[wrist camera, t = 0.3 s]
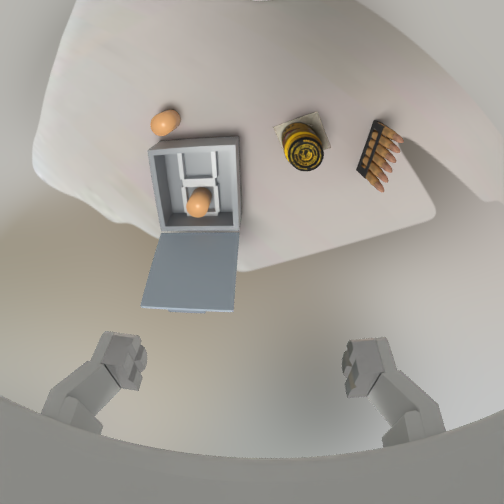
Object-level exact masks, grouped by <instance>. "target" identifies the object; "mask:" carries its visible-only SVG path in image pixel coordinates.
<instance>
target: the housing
mask: <svg viewBox="0 0 504 504" xmlns="http://www.w3.org/2000/svg"><path fill="white" fill-rule="evenodd" d="M148 157H149V164H150V170H151V177H152V183H153V189H154V195H155V200H156V206H157V211H158V217H159V222H160V227H161V231H239V229H240V222H241V215H242V212H241V187H240V160H239V136H238V137H211V138H194V139H180V140H168V141H159V142H158V143H157V144H155V145H154V146H153V147H152V148H150V149H149V150H148ZM198 187H204V188H207V189H208V190H209V191H210V192H211V194H212V200H211V203H210V205H209V208H208V211H207V213H206V214H205V215H204V216H203V217H200V218H196V217H193V216H191V215H190V214H189V213H188V212H187V209H186V204H187V202H188V200H189V198H190V196H191V195H192V193H193V191H194V190H195V189H196V188H198Z"/></svg>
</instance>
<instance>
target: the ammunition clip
mask: <svg viewBox="0 0 504 504" xmlns="http://www.w3.org/2000/svg"><path fill="white" fill-rule="evenodd" d="M382 134H383V135H382ZM385 136H386V137H385ZM390 139H391V140H394V141H396V142H399V143H403V142H404V140H403V138H402V137H401V136H400V135H398V134H397V133H396V132H395V131H393V130H392V129H390V128H389V127H387V126H386V125H384V124H383V123H381V122H378V121H376V120H374V121H373V124H372V127H371V130H370V133H369V136H368V139H367V141H366V144H365V147H364V150H363V153H362V155H361V158H360V161H359V164H358V166H357V169H356V170H357V171H358V172H359V173H360V174H361V175H362V176H363V177H364V178H365V179H367V180H368V181H369V182H370V183H371V185H373V186H374V187H375V188H376V189H377V190H379V191H380V192H384V188H383V186H382V184H381V183H380V181H379V179H378V178H380V179H381V180H382V181H384V182H388V178H387V176H386V175H385V174H384V172H383V171H382V169H381V168H383V169H384V170H385V171H387V172H390V173H391V172H392V168H391V167H390V165H389V164H388V163H387V162H386V160H385V159H384V158H386V159H387V160H389V161H390V162H393V163H396V159H395V157H394V156H393V155H392V154H391V153H390V152H389V150H387V149H390V150H392V151H393V152H396V153H400V149H399V148H398V147H397V146H396V145H395V144H394V143H393V142H392V141H391V140H390ZM379 143H380V144H379ZM382 145H383V146H382ZM386 148H387V149H386ZM380 167H381V168H380ZM376 176H377V177H378V178H377V177H376Z"/></svg>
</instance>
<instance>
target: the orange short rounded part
mask: <svg viewBox="0 0 504 504" xmlns="http://www.w3.org/2000/svg"><path fill="white" fill-rule="evenodd" d="M211 200H212V194H211V192H210V191H209V190H208V189H207V188H204V187H198V188H196V189H195V190H194V191H193V193H192V195H191V196H190V198H189V200H188V202H187V204H186V209H187V212H188V213H189V214H190V215H191V216H193V217H196V218H200V217H203V216H204V215H205V214H206V213H207V211H208V208H209V205H210V203H211Z"/></svg>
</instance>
